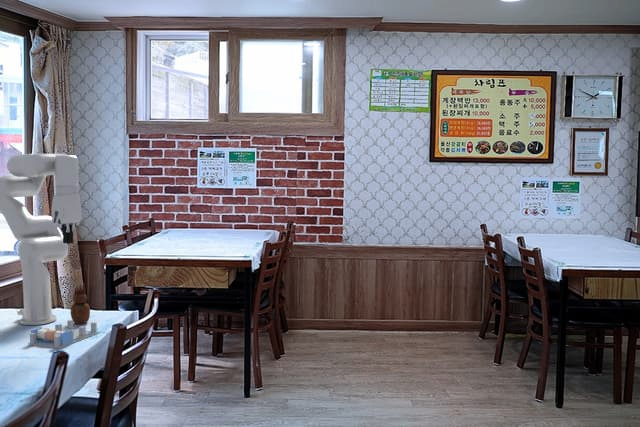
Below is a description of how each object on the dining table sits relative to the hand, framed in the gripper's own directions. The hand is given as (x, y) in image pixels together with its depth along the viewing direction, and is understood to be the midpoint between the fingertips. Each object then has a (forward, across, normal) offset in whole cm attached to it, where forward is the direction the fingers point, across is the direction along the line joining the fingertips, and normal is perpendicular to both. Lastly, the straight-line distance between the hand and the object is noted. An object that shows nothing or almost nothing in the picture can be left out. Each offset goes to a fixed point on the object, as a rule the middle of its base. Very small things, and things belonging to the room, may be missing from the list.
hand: (68, 243), depth 227 cm
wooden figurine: (+32, -10, -5) cm, 34 cm away
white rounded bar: (+29, +13, +5) cm, 32 cm away
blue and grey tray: (+32, +8, +5) cm, 33 cm away
